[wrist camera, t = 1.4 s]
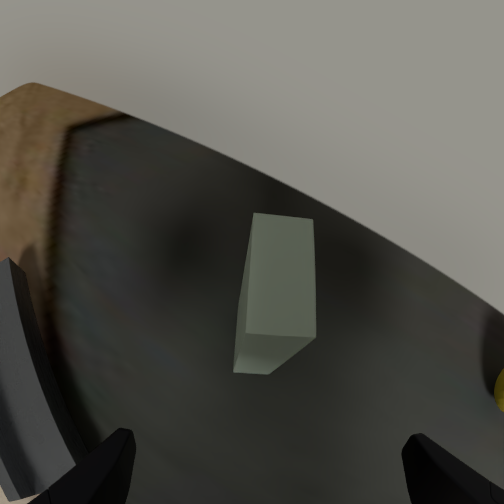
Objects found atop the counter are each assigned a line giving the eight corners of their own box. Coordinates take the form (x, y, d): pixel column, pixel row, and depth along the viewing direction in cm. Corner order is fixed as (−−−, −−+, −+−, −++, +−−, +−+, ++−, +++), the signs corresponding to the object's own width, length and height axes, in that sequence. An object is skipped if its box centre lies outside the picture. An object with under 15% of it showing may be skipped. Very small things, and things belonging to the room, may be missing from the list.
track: (100, 473, 16) (84, 480, 14) (28, 496, 14) (8, 501, 11) (25, 272, 23) (8, 257, 20) (-32, 307, 20) (-51, 295, 18)
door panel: (268, 374, 21) (316, 337, 11) (233, 372, 21) (245, 333, 11) (271, 308, 24) (312, 219, 13) (238, 306, 24) (253, 212, 13)
